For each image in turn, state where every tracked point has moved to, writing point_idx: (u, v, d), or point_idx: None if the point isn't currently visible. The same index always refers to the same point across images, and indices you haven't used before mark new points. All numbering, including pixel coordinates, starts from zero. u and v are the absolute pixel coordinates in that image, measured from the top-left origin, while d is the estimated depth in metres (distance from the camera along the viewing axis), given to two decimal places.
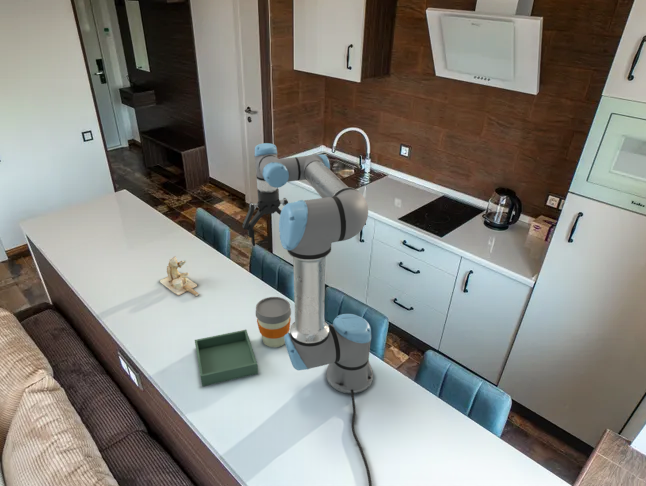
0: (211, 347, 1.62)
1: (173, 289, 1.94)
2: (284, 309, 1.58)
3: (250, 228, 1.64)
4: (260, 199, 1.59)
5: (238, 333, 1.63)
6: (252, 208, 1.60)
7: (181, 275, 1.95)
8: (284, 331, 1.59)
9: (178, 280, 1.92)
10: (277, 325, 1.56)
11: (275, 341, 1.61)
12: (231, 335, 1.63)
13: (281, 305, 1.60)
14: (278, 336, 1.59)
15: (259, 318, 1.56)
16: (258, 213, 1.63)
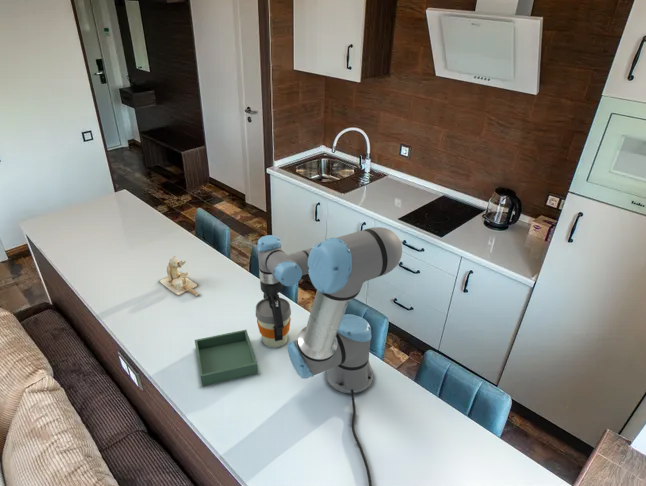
0: (211, 347, 1.62)
1: (173, 289, 1.94)
2: (284, 309, 1.58)
3: None
4: None
5: (238, 333, 1.63)
6: None
7: (181, 275, 1.95)
8: (284, 331, 1.59)
9: (178, 280, 1.92)
10: None
11: (275, 341, 1.61)
12: (231, 335, 1.63)
13: (281, 305, 1.60)
14: None
15: (259, 318, 1.56)
16: None
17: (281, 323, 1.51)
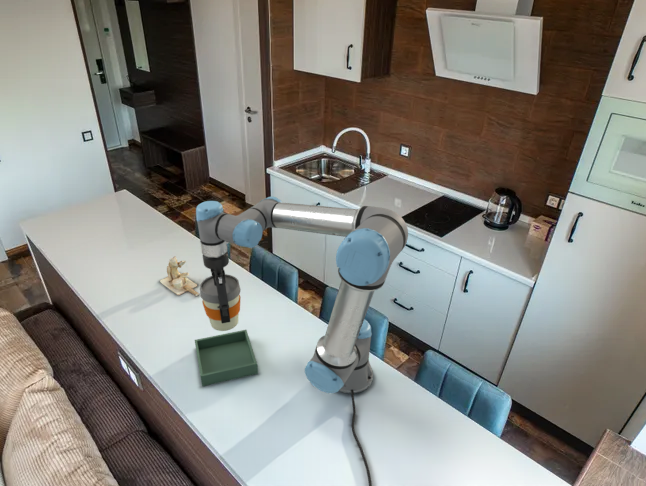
0: (211, 347, 1.62)
1: (173, 289, 1.94)
2: (232, 287, 1.40)
3: None
4: None
5: (238, 333, 1.63)
6: None
7: (181, 275, 1.95)
8: (232, 312, 1.41)
9: (178, 280, 1.92)
10: None
11: (223, 323, 1.43)
12: (231, 335, 1.63)
13: (229, 283, 1.42)
14: None
15: (203, 297, 1.38)
16: None
17: (226, 302, 1.34)
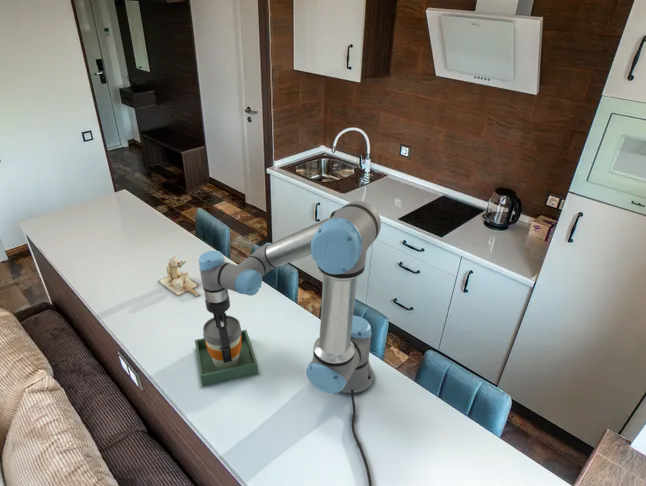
0: None
1: (173, 289, 1.94)
2: (233, 329, 1.48)
3: None
4: None
5: None
6: None
7: (181, 275, 1.95)
8: (234, 353, 1.49)
9: (178, 280, 1.92)
10: None
11: None
12: None
13: (231, 324, 1.50)
14: None
15: (206, 339, 1.46)
16: None
17: (227, 344, 1.41)
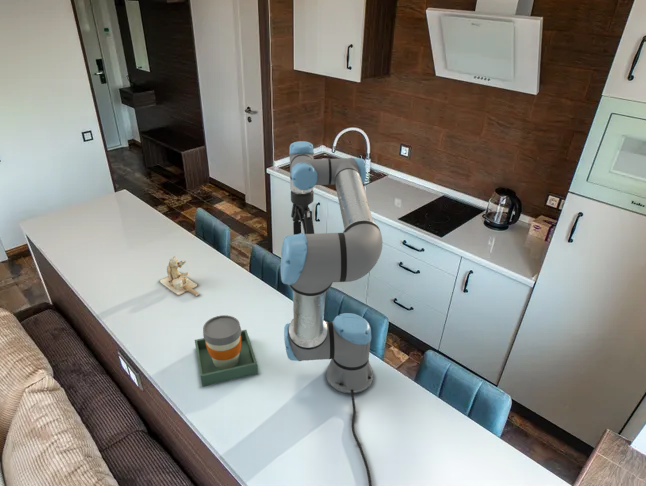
0: None
1: (173, 289, 1.94)
2: (233, 329, 1.48)
3: (293, 219, 1.61)
4: None
5: None
6: None
7: (181, 275, 1.95)
8: (234, 353, 1.49)
9: (178, 280, 1.92)
10: (225, 346, 1.46)
11: (225, 362, 1.51)
12: None
13: (231, 324, 1.50)
14: (227, 358, 1.49)
15: (206, 339, 1.46)
16: None
17: None
